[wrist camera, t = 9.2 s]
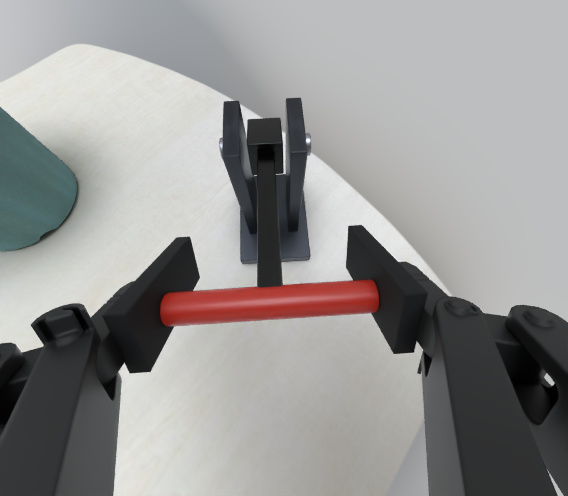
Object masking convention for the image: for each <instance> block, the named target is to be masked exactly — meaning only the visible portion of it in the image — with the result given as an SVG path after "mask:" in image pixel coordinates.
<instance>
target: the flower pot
mask: <svg viewBox="0 0 568 496" xmlns="http://www.w3.org/2000/svg"><path fill="white" fill-rule="evenodd" d="M76 193H77V183H76V179H75V176H74V174H73V173H72V172H71V171H70V169H69V168H68V167H67V166H66V164H65V163H64V162H62V161H61V160H60V159H59V158H58V157H57V156H56V155H55V154H53V153H52V152H51V151H50V150H49V149H48V148H47V147H45V146H44V145H43V144H42V143H41V142H40V141H38V140H37V139H36V138H35V137H34V136H33V135H32V134H30V133H29V132H28V131H27V130H26V129H25V128H24V127H23V126H21V125H20V124H19V123H18V122H17V121H16V120H15V119H13V118H12V117H11V116H10V115H9V114H8V113H7V112H6V111H4V110H3V109H2V108H1V107H0V251H8V250H15V249H20V248H23V247H26V246H29V245H31V244H34V243H36V242H38V241H39V239H40V237H41V236H42V235H43V234H45V233H46V232H48V231H50V230H53V229H56V228H57V227H58V226H59V225H60V224H61V223H62V222H63V221H64V220H65V218H66V217H67V216H68V214H69V212H70V210H71V209H72V206H73V204H74V201H75V198H76Z"/></svg>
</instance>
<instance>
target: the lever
mask: <svg viewBox="0 0 568 496" xmlns="http://www.w3.org/2000/svg"><path fill="white" fill-rule="evenodd" d="M247 149H248V155H249V161H250V167H251V172H252V175H257V287H245V288H230V289H214V290H199V291H184V292H169V293H167V294H165V295H164V297H163V299H162V301H161V306H160V317H161V321H162V323H163V324H164V325H165V326H167V327H171V326H185V325H200V324H215V323H230V322H245V321H260V320H275V319H290V318H304V317H319V316H334V315H349V314H364V313H375V312H377V311H378V309H379V293H378V289H377V286H376V284H375V282H374V281H373V280H370V279H368V280H353V281H337V282H322V283H307V284H291V285H283V283H282V267H281V251H280V235H279V219H278V203H277V187H276V174H283V172H284V171H283V141H282V130H281V120H280V118H265V119H248V126H247Z"/></svg>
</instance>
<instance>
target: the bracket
mask: <svg viewBox="0 0 568 496" xmlns="http://www.w3.org/2000/svg"><path fill="white" fill-rule="evenodd" d="M219 146H220V153H221V157H222V159H223V161H224V163H225V166H226V169H227V172H228V174H229V177H230V180H231V183H232V185H233V188H234V191H235V194H236V197H237V199H238V202H239V205H240V238H241V262H242V264H251V263H257V176H254V175H252V172H251V167H250V161H249V155H248V149H247V138H246V133H245V128H244V123H243V118H242V113H241V108H240V104H239V101H225V102H224V107H223V138H220V141H219ZM310 153H311V136H310V134H309V133H305V126H304V118H303V110H302V102H301V98H287V99H286V174H282V175H276V187H277V203H278V219H279V235H280V251H281V262H282V261H298V260H309V258H310V249H309V239H308V230H307V221H306V211H305V202H304V192H303V186H304V177H305V169H306V161H307V156H308V155H310Z"/></svg>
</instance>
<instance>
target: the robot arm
mask: <svg viewBox="0 0 568 496" xmlns="http://www.w3.org/2000/svg"><path fill="white" fill-rule="evenodd" d="M346 268H347V270H348V272H349V273H350V275H351V277H352V279H353V280H368V279H370V280H373V281H374V282H375V284H376V286H377V289H378V293H379V309H378V311H377V312H375V313H372V315H373V317H374V319H375V321H376V323H377V324H378V326H379V328H380V330H381V332H382V333H383V335H384V337H385V339H386V341H387V343H388V344H389V346H390V348H391V350H392V352H393V354H400V353H413V352H414V349H415V345H416V341H417V342H418V343H419V344H420V346H421V347H422V349H423V353H422V356H421V360H420V364H419V368H418V372H417V373H419V374H421V371H422V384H423V401H424V418H425V434H426V452H427V468H428V486H429V496H557V493H556V491H555V488H554V486H553V483H552V481H551V478H550V476H549V473H550V474H551V476H552V478H553V479H554V481H555V482H556V484H557V485H558V487H559V489H560V490H561V492H562V493H563V495H564V496H568V322H566V321H565V320H563V319H562V318H560V317H559V316H557V315H556V314H553V313H551V312H549V311H547V310H545V309H542V308H539V307H535V306H527V305H516V306H514V307H512V308H511V310H510V312H509V314H508V316H500V315H492V314H485V313H483V312H482V311H481V310H480V308H479V307H477V306H476V305H474V304H473V303H471V302H469V301H466V300H464V299H461V298H457V297H449V296H448V295H447V294H445V293H444V292H443V291H442V290H441V289H440V288H439V287H438V286H437V285H436V284H435V283H433V282H432V281H431V280H429V278H428V277H427V276H426V275H424V274H423V272H421V271H420V270H419V269H418V268H417V267H416V266H414V265H412V264H410V263H408V262H398V261H397V260H396V259H395V258H394V257H393V256H392V255H391V254H390V253H389V252H388V251H387V250H386V249H385V248H384V247H383V246H382V245H381V244H380V243H379V242H378V241H377V240H376V239H375V238H374V237H373V236H372V235H371V234H370V233H369V232H368V231H367V230H366V229H365V228H364V227H363V226H362V225H355V226H349V227H348V243H347V260H346ZM199 278H200V276H199V272H198V268H197V264H196V260H195V255H194V251H193V247H192V243H191V239H190V237H178V238H176V239H175V240H174V241H173V242H172V243H171V244H170V245H169V246H168V247H167V248H166V249H165V250H164V251H163V252H162V253H161V254H160V256H159V257H158V258H157V259H156V260H155V261H154V262H153V263H152V264H151V265H150V266H149V267H148V268H147V269H146V270H145V271H144V272H143V273H142V274H141V275H140V276H139V277H138V278H137V280H136V281H133V282H130V283H128V284H127V285H125V286H123V287H122V288H120V289H119V290H118V291H117V292H116V293H115V294H114V295H113V297H111V298H110V299H109V300H108V301H107V304H104V305H103V306H102V307H101V308H100V309H99V310H98V311H97V312H96V313H95V314H94V315H93V316H92V317H91V318H90V316H89V314H88V312H87V310H86V308H85V306H84V305H82V304H68V305H64V306H61V307H58V308H55V309H53V310H51V311H49V312H47V313H45V314H43V315H41V316H40V317H39V318H37V319H36V320H35V321H34V322H33V323H32V324H31V326H32V328H33V329H34V331H35V332H36V334H37V335H38V337H39V338H40V340H41V341H42V343H43V344H44V346H43V347H41V348H37V349H34V350H30V351H26V352H23V353H21V351H20V350H19V348H18V347H17V346H16V344H13V343H2V344H0V496H113V491H114V478H115V464H116V450H117V437H118V423H119V409H120V395H121V382H122V381H121V377H120V375H119V373H118V371H119V370H120V368H121V367H122V365H123V364H124V362H125V364H126V366H127V369H128V371H129V373H141V372H150V371H151V370H152V368H153V366H154V364H155V362H156V360H157V358H158V356H159V354H160V352H161V351H162V349H163V347H164V345H165V343H166V341H167V339H168V337H169V335H170V333H171V331H172V330H173V328H174V326H171V327H167V326H165V325H164V324H163V323H162V321H161V317H160V306H161V301H162V299H163V297H164V295H165V294H167V293H169V292H184V291H193V289H194V288H195V286H196V284H197V282H198V280H199ZM546 373H548V375H549V376H550V377H551V378H552V379H553V381H554V382H555V384H554V385H553V386H551V385H550V384H549V383H548V382H547V381H546V380H545V378H544V376H545V375H546ZM547 470H548V471H549V473H548V471H547Z"/></svg>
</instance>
